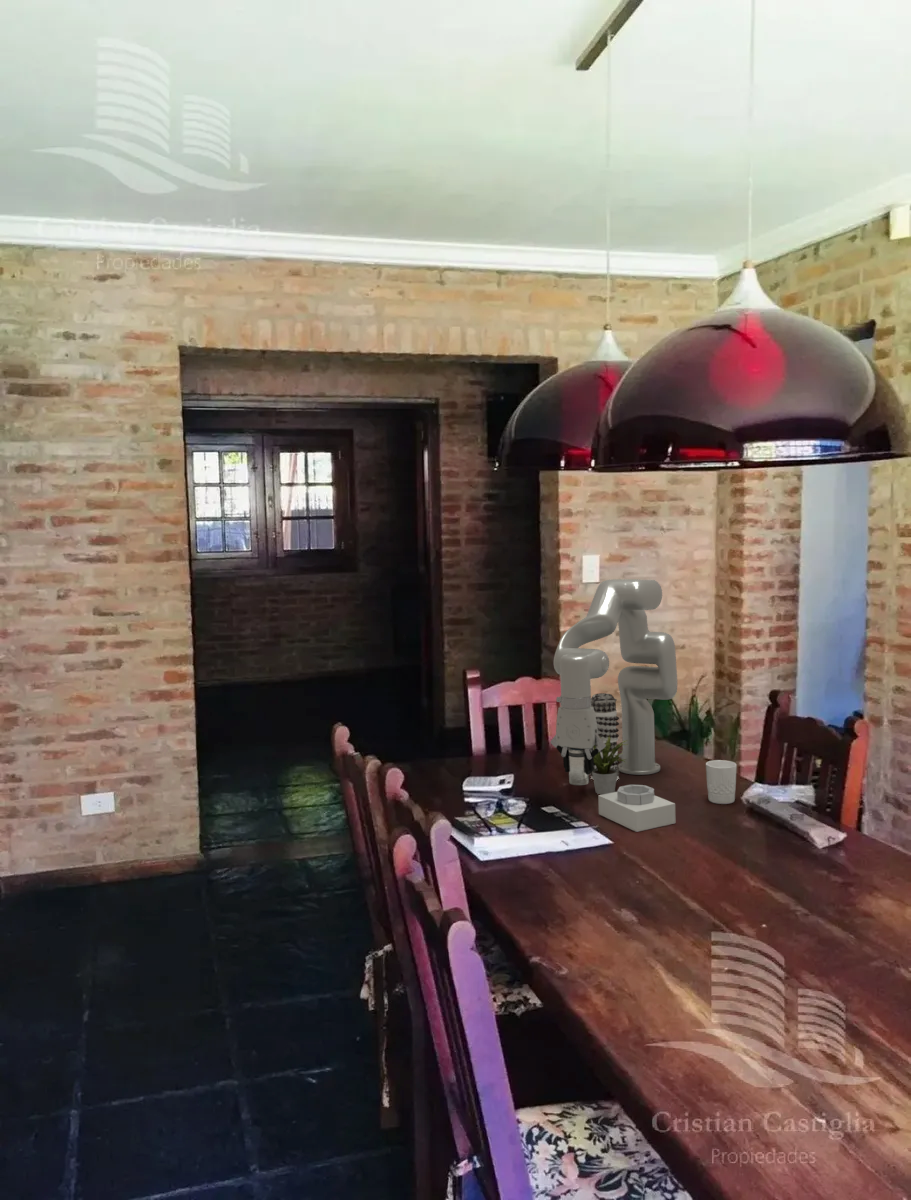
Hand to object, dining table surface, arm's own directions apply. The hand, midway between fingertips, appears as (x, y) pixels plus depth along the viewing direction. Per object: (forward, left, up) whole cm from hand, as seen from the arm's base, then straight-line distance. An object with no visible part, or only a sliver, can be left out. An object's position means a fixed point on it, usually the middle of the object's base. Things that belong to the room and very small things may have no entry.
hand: (578, 771), depth 237 cm
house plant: (-13, +18, -12) cm, 25 cm away
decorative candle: (-26, +26, -12) cm, 38 cm away
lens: (0, 0, -3) cm, 3 cm away
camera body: (+8, +12, -12) cm, 19 cm away
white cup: (+8, +40, -12) cm, 42 cm away
